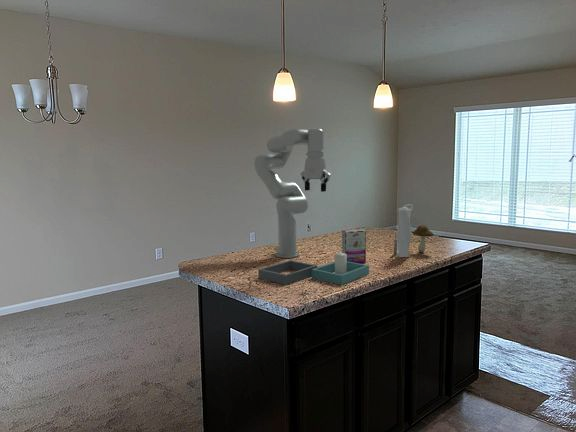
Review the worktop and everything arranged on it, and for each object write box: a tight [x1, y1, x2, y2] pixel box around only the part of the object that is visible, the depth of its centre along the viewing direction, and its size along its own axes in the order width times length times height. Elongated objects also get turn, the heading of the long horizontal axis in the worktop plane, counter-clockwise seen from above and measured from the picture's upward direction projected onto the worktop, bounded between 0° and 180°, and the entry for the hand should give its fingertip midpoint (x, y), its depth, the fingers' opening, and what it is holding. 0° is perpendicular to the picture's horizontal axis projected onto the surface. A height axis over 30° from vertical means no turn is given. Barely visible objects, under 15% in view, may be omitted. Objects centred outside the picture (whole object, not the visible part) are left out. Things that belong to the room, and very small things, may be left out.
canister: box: [334, 252, 347, 275], centre depth 205 cm, size 5×5×10 cm
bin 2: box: [311, 261, 370, 286], centre depth 205 cm, size 16×22×4 cm
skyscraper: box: [392, 203, 414, 259], centre depth 241 cm, size 8×8×28 cm
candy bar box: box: [341, 228, 367, 264], centre depth 229 cm, size 11×5×16 cm, turn 105°
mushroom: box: [412, 224, 434, 253], centre depth 250 cm, size 9×11×15 cm
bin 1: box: [257, 259, 318, 286], centre depth 205 cm, size 16×22×4 cm
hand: (315, 190), depth 222 cm, fingers open, 9 cm apart
